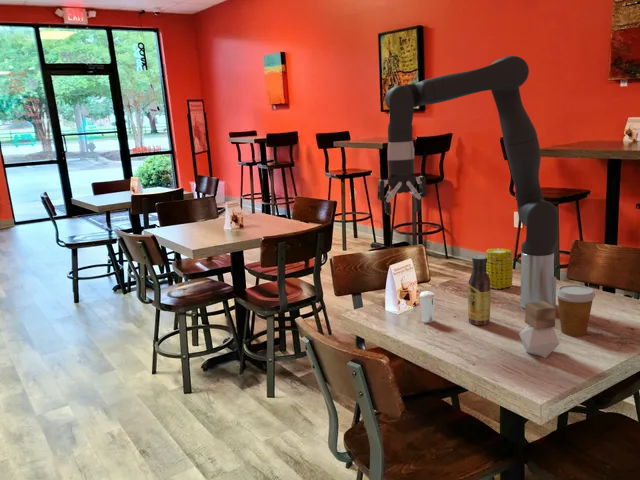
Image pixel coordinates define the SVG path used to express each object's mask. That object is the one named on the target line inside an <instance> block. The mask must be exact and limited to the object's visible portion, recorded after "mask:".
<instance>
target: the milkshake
mask: <svg viewBox="0 0 640 480" xmlns="http://www.w3.org/2000/svg"><path fill="white" fill-rule="evenodd" d="M438 289H439V288H437V289H436V291H435V293H434V292H433V291H429V290H425V291H421V292H420V293H419V302H420V305H419V306H420V312H421V313H420V314H421V321H422V323H425V324H431V323H434V320H435V319H434V315H435V314H434V313H435V303H436V302H435V300H436V294H437V292H438V291H439V290H438Z"/></svg>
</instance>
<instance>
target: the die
mask: <svg viewBox="0 0 640 480" xmlns="http://www.w3.org/2000/svg"><path fill="white" fill-rule="evenodd" d="M518 335H519V337H520V340H521V342H522V345H523V348H524V349H525V352H526V353H528V354H531V355H535V356H537V357H541V358H543V359H544V358H545V359H546V358H547V357H548V356H549V355H550V354H551V353H552V352H553V351H554V350H555V349H556V348H557V347H558V346H559V345H560V344H561V343H560V342H559V339H558V336H557V333H556V331H555V327H550V328H543V329H535V328H533V327H532V326H530V325H528V324H527V325H526V326H525V328H524V329H522V330H521V332H519V333H518Z"/></svg>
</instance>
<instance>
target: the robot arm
mask: <svg viewBox="0 0 640 480" xmlns="http://www.w3.org/2000/svg"><path fill="white" fill-rule="evenodd" d="M529 73H530V68H529V65H528V63H527V61H526V60H525V59H523V58H522V57H520V56H517V55H508V56H503V57H501V58H499V59H496V60H494V61H493V62H492V63H491V64H489V65H486V66H483V67H479V68H476V69H472V70H471V69H470V70H468V71H467V70H465V71H462V72H455V73H451V74H445V75H440V76H436V77H435V76H434V77H430V78H427V79H424V80H421V81H418V82H415V83H409V84H404V85H396V86H393V87H391V88H389V90H388V91H387V92H386V94H385V95H384V96H385V97H384V103H385V106H386V108H387V109H389V122H388V124H387V125H388V126H387V170H388V172H387V173H388V178H387V179H380V178H379V179H378V180H377V200H378V201H381V202H383V204H384V212H385V214H386V215H387V216H391V215H392V203H391V201H392V199H393V197H395V195H396V194H402V193H404V194H407V193H410V194H411V195H412V196H413V197H414V199H413V211H414V212H415V213H420V211H421V209H422V206H421V205H422V202H421V201H422V199H423V198H424V197H425V198H426V197H427V195H428V191H427V190H428V189H427V181H426V179H427V178H426V177H425V176H423V175H419V176H415V173H416V171H415V148H414V135H413V134H414V133H413V130H414V129H413V119H414V111H415V108H417V107H421V106H430V105H435V104H440V103H443V102H447V101H451V100H455V99H459V98H462V97H465V96H469V95H473V94H476V93H481V92H487V91H491V94H492V97H493V100H494V103H495V106H496V109H497V114H498V118H499V124H500V130H501V134H502V135H501V136H502V138H503V144H504V149H505V154H506V158H507V161H508V165H509V168H510V174H511V178H512V181H513V185H514V189H515V197H516V208H517V214H518V218H519V220H520V223H521V224H523V226H525V227H526V229H525V230H526V231H525V240H524V241H523V242H522V243H521V247H520V248H521V250H520V251H521V252H520V253H521V255H520V256H521V257H520V259H521V262H520V307H521V308H523V310H524V309H525V303H532V302H540V301H544V302H546V303H548V304H550V305H552V306H554V307H557V306H556V305H557V295H556V292H557V277H556V276H554V270H555V269H554V268H555V265H554V264H555V262H554V261H555V247H556V246H557V242H558V234H559V233H558V232H559V213H558V208H557V207H556V206H555V204H554V203H552V202H551V201H548V200H545V198H544V196H543V191H542V189H541V184H540V167H541V159H542V158H541V156H542V154H541V147H540V142H539V137H538V133H537V131H536V128H535V126H534V124H533V122H532V120H531V118H530V116H529V115H528V113H527V111H526V109H525V107H524V104H523V102H522V98H521V97H522V96H521V91H520V87H521V86H523V85H524V83H526V81H527V80H528V77H529ZM416 183H417V184H418V185H419V187H418V188H419V192H418V190H417V189H416V188H415V187H414V185H415V184H416ZM387 185H388V186H389V188H388V190H387V191H386V195H385V188H386V187H387Z"/></svg>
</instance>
